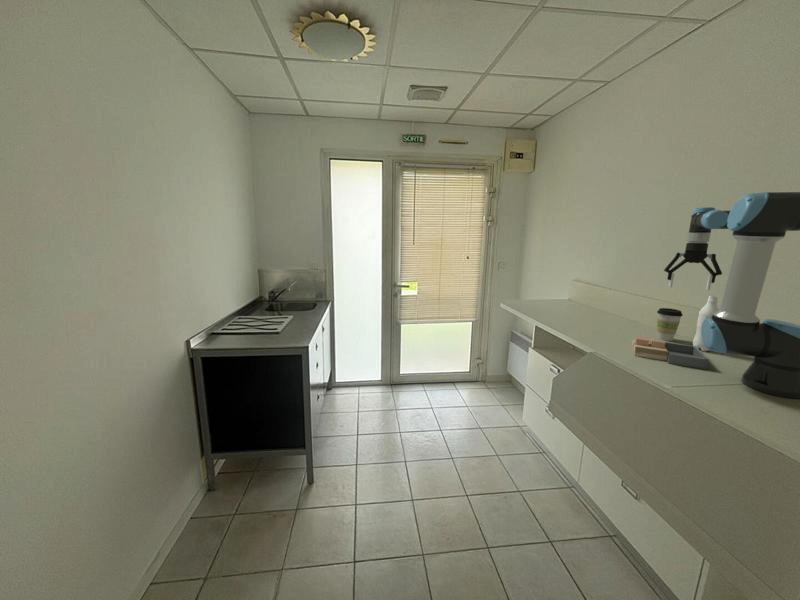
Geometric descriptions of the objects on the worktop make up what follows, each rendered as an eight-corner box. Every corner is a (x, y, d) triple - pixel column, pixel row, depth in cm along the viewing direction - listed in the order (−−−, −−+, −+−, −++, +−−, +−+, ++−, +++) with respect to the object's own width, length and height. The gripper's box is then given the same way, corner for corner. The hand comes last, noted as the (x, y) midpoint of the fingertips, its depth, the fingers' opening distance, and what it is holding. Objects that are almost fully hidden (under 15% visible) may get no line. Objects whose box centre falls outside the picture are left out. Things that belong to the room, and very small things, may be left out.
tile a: (648, 346, 141) (649, 340, 141) (635, 344, 144) (636, 339, 143) (646, 343, 145) (647, 337, 145) (634, 341, 147) (635, 336, 147)
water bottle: (716, 352, 146) (729, 298, 141) (698, 351, 147) (710, 297, 142) (704, 347, 153) (716, 294, 148) (687, 346, 154) (698, 294, 149)
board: (666, 360, 136) (668, 351, 135) (634, 355, 141) (635, 346, 140) (661, 351, 146) (662, 343, 145) (631, 347, 151) (632, 339, 151)
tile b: (664, 348, 139) (665, 343, 138) (651, 346, 141) (652, 341, 140) (662, 345, 143) (663, 340, 142) (649, 343, 145) (650, 338, 144)
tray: (706, 369, 128) (708, 359, 127) (667, 363, 133) (669, 353, 133) (694, 355, 143) (696, 346, 142) (659, 349, 149) (661, 341, 148)
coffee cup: (648, 337, 167) (653, 308, 163) (659, 335, 171) (664, 307, 168) (670, 343, 158) (676, 313, 155) (681, 340, 162) (687, 311, 159)
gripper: (732, 243, 146) (721, 289, 151) (661, 241, 159) (654, 284, 163) (738, 243, 140) (727, 292, 144) (664, 241, 153) (656, 286, 157)
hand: (688, 288), depth 154 cm, fingers open, 13 cm apart
